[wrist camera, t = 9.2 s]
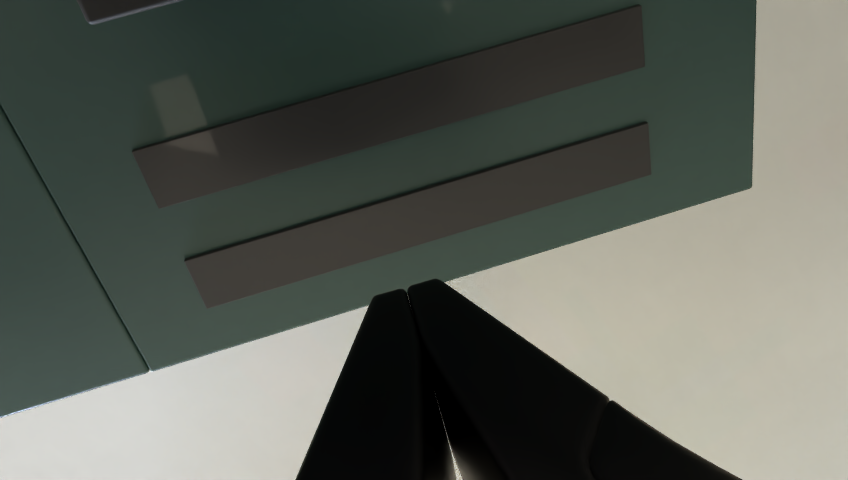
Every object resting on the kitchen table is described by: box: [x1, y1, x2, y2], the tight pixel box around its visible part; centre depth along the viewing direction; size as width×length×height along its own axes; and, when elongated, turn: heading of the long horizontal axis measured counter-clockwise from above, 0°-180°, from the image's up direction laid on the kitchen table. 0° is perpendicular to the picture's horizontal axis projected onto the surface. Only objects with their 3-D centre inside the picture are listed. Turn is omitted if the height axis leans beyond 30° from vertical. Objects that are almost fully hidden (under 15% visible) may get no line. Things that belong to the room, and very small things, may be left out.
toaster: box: [0, 0, 756, 418], centre depth 14 cm, size 18×10×9 cm, turn 101°
